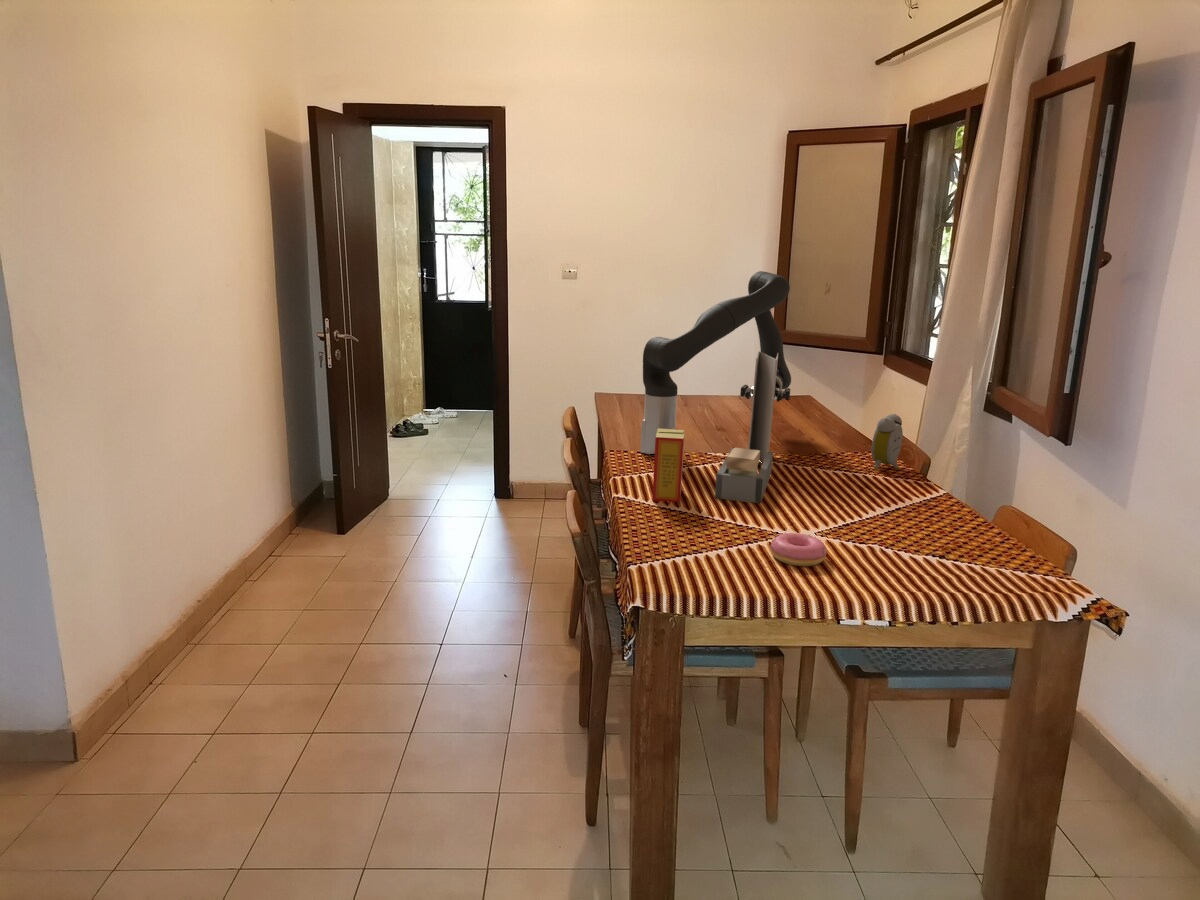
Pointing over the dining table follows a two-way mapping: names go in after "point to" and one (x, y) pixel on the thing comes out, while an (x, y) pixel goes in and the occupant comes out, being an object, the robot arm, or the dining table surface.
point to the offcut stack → (743, 462)
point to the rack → (743, 483)
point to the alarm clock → (887, 441)
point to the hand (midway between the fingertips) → (763, 396)
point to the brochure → (762, 404)
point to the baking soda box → (668, 465)
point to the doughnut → (798, 549)
